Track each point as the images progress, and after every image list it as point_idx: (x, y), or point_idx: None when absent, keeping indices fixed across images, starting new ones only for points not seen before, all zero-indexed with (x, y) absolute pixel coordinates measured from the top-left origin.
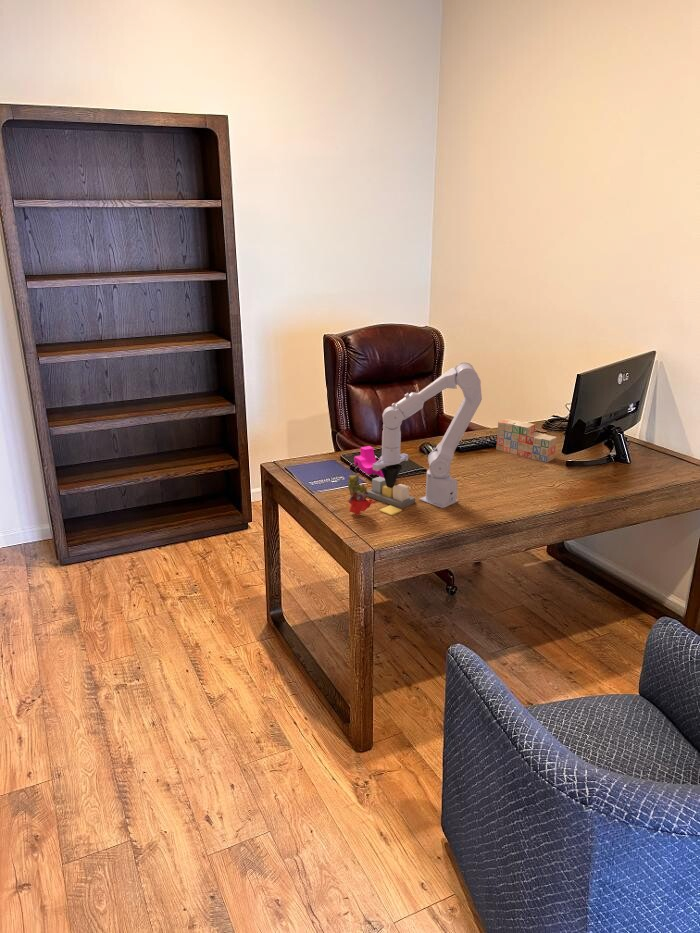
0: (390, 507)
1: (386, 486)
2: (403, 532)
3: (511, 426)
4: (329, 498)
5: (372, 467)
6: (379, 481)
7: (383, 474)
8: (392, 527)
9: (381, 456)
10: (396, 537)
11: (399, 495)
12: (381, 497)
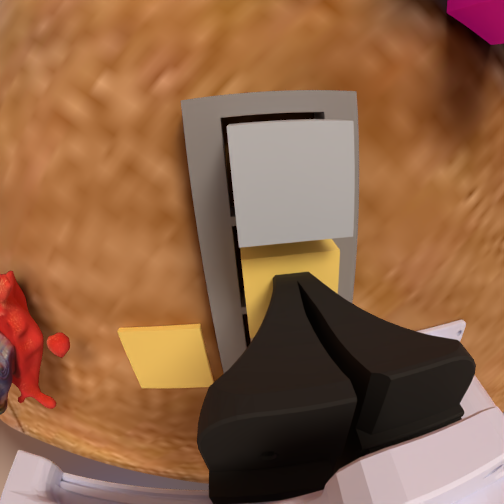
0: (183, 346)
1: (268, 281)
2: (118, 448)
3: None
4: (9, 42)
5: None
6: (243, 232)
7: (255, 340)
8: (102, 423)
9: (434, 498)
10: (88, 447)
11: None
12: (202, 261)
